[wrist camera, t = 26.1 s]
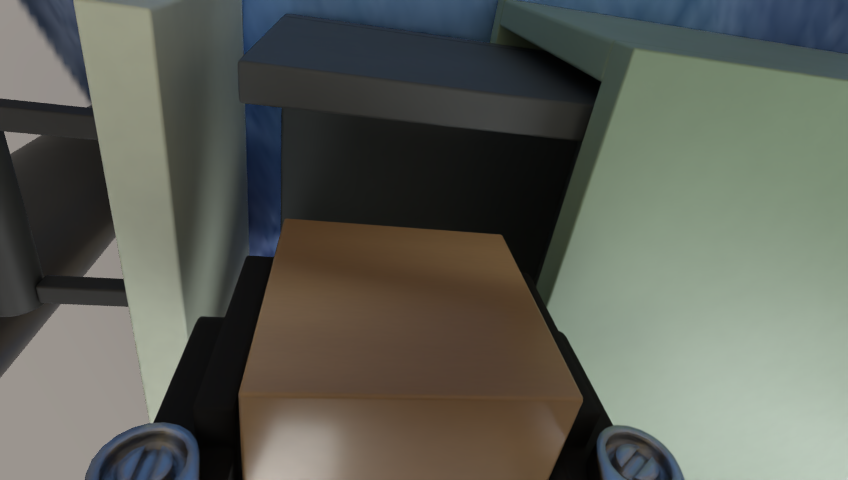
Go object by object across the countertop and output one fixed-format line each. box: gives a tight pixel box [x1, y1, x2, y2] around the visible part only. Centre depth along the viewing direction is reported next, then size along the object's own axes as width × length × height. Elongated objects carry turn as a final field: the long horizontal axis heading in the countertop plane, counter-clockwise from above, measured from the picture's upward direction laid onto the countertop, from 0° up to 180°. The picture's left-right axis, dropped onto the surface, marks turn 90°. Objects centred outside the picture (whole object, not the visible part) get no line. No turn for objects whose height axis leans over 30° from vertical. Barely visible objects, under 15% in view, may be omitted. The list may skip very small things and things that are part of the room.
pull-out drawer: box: [0, 0, 601, 423], centre depth 15 cm, size 18×11×8 cm, turn 81°
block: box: [238, 219, 583, 480], centre depth 9 cm, size 4×4×4 cm
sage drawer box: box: [490, 0, 848, 480], centre depth 17 cm, size 15×13×10 cm
